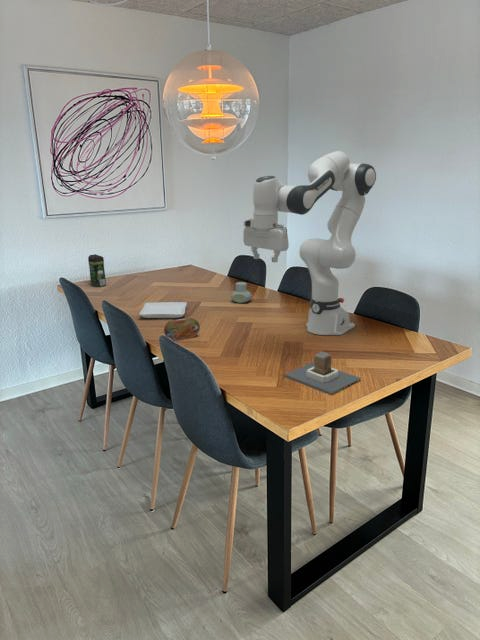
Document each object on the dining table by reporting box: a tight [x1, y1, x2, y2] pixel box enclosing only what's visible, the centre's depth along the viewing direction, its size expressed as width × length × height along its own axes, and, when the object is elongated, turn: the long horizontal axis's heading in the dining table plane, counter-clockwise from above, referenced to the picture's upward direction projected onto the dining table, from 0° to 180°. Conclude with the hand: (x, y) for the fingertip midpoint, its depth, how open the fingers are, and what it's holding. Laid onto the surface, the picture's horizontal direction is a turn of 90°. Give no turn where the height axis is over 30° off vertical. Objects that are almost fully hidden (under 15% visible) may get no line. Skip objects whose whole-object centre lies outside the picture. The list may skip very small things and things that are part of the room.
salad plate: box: [139, 301, 188, 319], centre depth 242 cm, size 21×21×3 cm
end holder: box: [283, 361, 362, 395], centre depth 168 cm, size 16×20×3 cm
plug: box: [313, 351, 333, 376], centre depth 167 cm, size 4×4×8 cm
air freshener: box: [230, 281, 253, 304], centre depth 260 cm, size 11×8×10 cm
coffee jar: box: [87, 254, 107, 288], centre depth 297 cm, size 10×8×19 cm
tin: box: [163, 317, 201, 342], centre depth 207 cm, size 15×3×8 cm, turn 115°
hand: (265, 260), depth 185 cm, fingers open, 8 cm apart
